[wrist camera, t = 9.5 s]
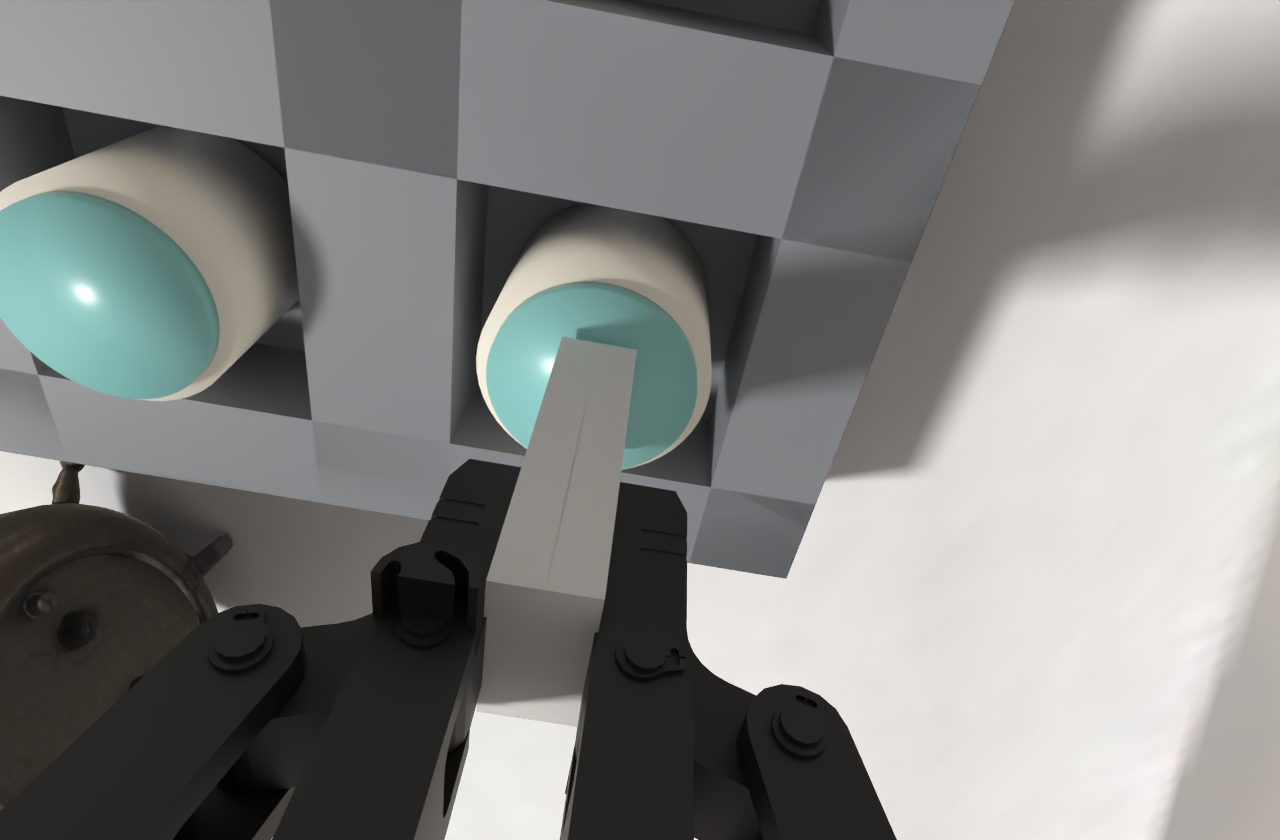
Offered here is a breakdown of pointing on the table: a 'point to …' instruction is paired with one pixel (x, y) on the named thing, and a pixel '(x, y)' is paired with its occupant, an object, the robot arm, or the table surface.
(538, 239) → the button
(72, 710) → the alarm clock
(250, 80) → the button board
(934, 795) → the table surface
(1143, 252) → the table surface
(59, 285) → the button
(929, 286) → the table surface
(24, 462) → the table surface
